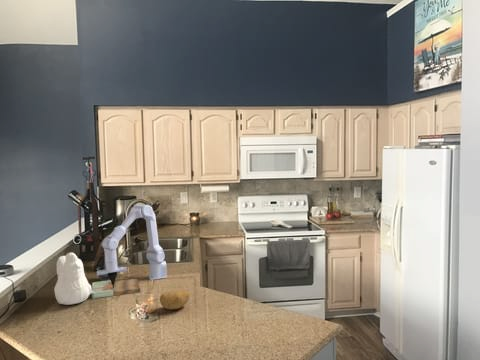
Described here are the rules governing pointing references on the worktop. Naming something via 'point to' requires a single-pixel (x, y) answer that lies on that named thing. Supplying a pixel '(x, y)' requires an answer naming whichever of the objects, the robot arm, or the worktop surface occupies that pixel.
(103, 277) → the mortar and pestle
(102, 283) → the tray
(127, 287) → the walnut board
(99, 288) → the cream tile
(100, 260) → the owl
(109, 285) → the terracotta tile
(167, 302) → the potato
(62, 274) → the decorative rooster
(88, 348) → the worktop surface
